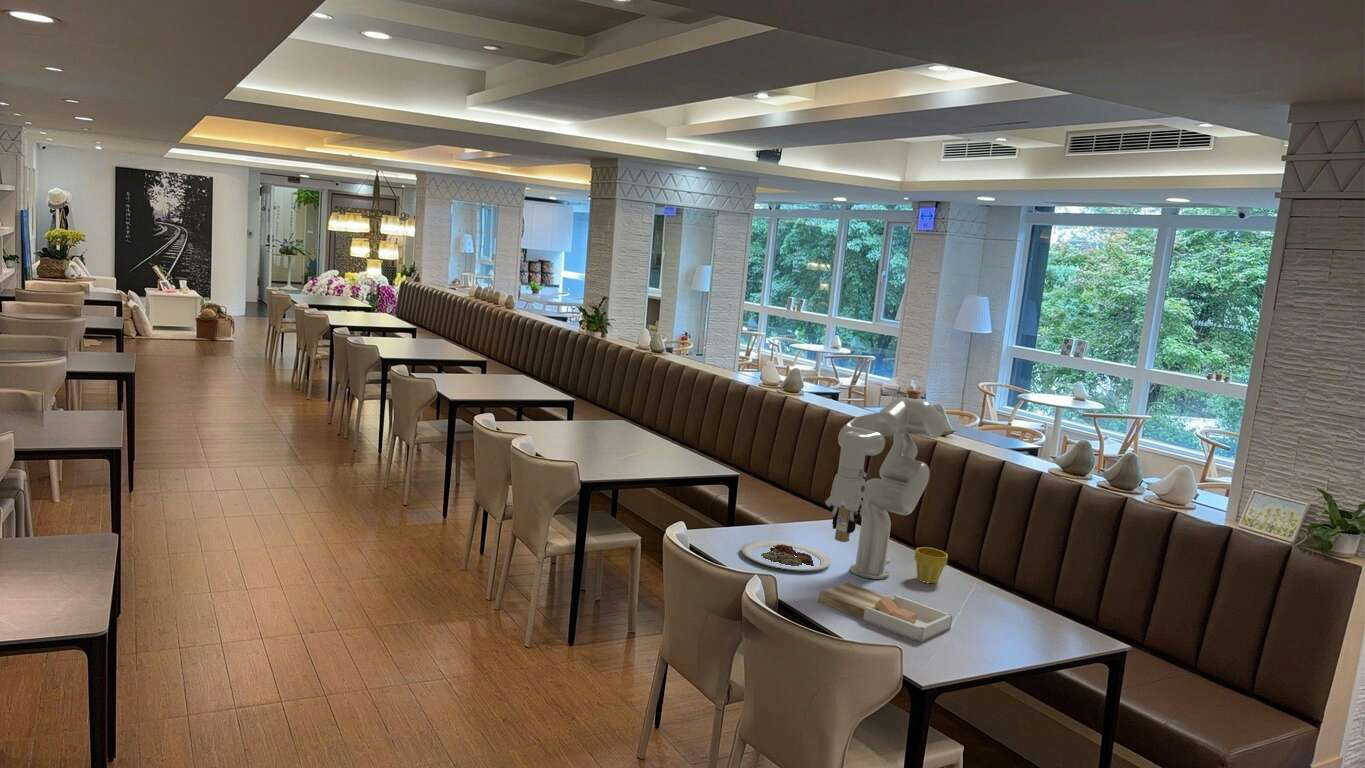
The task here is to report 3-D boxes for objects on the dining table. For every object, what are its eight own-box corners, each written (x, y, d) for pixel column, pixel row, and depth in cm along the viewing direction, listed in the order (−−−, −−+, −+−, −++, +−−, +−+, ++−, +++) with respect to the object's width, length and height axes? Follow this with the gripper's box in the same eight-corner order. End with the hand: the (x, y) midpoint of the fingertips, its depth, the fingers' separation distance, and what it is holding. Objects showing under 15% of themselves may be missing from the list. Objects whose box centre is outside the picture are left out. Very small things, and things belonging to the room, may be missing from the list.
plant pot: (945, 588, 305) (950, 559, 303) (913, 583, 306) (917, 554, 305) (941, 577, 315) (945, 549, 314) (909, 573, 316) (913, 545, 315)
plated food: (772, 577, 296) (773, 567, 296) (724, 547, 323) (725, 538, 322) (848, 572, 311) (849, 562, 310) (796, 543, 337) (798, 534, 336)
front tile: (917, 613, 269) (915, 622, 269) (901, 608, 272) (900, 616, 272) (908, 617, 265) (906, 625, 265) (892, 611, 268) (891, 619, 269)
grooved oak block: (847, 591, 290) (848, 582, 290) (893, 608, 280) (894, 599, 279) (817, 601, 278) (819, 592, 278) (864, 619, 268) (866, 609, 267)
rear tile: (884, 601, 275) (888, 596, 274) (895, 615, 273) (900, 609, 272) (875, 605, 272) (879, 599, 270) (886, 618, 269) (891, 613, 268)
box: (894, 608, 280) (896, 595, 280) (950, 628, 269) (952, 615, 268) (863, 620, 267) (864, 607, 267) (920, 642, 255) (922, 628, 255)
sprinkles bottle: (831, 539, 290) (836, 497, 288) (838, 536, 293) (844, 495, 291) (845, 543, 287) (850, 501, 285) (852, 540, 291) (857, 498, 288)
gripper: (881, 477, 285) (873, 535, 287) (832, 464, 295) (825, 521, 298) (869, 480, 279) (861, 540, 282) (820, 467, 289) (813, 525, 292)
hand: (843, 529), depth 290 cm, fingers closed on sprinkles bottle, 4 cm apart
